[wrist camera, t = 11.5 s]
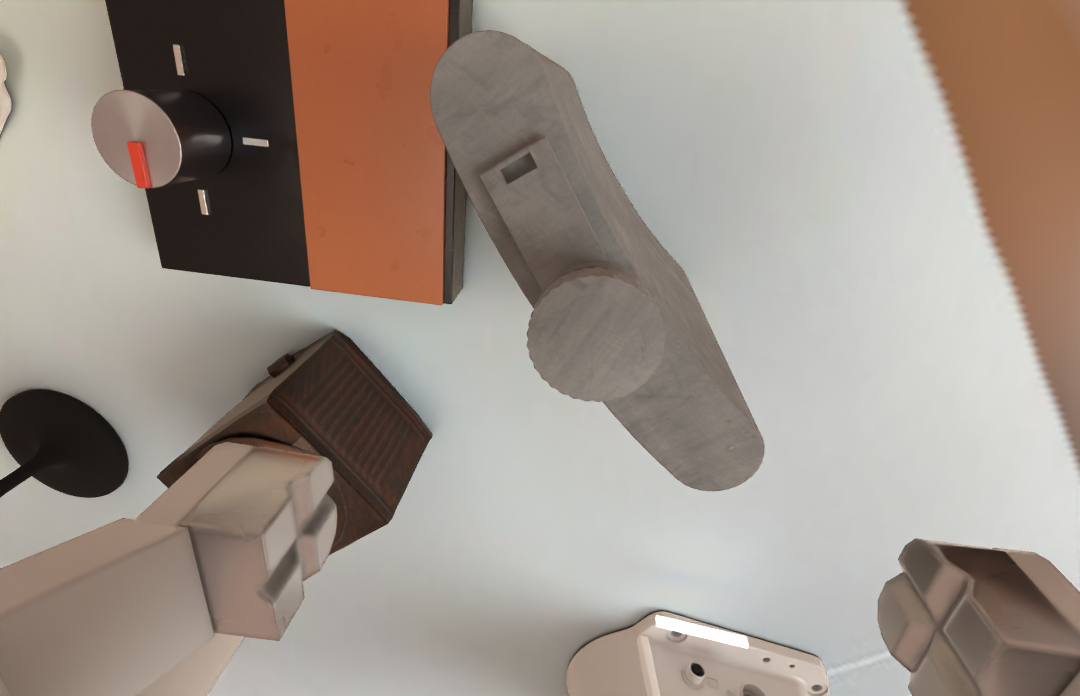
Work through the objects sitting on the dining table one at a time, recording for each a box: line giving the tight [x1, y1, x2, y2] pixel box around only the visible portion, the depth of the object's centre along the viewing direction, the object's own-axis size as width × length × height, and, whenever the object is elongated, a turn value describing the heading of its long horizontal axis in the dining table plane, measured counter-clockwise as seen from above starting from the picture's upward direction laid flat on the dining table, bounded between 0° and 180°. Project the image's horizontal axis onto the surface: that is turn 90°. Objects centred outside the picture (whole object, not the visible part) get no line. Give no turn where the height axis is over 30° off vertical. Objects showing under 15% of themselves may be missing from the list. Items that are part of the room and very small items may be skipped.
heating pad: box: [284, 0, 449, 305], centre depth 29 cm, size 8×16×1 cm, turn 175°
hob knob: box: [91, 90, 231, 188], centre depth 28 cm, size 4×4×4 cm
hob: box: [105, 0, 473, 304], centre depth 31 cm, size 19×16×3 cm
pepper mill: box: [157, 330, 432, 556], centre depth 33 cm, size 16×11×18 cm
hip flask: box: [430, 30, 764, 491], centre depth 23 cm, size 16×4×20 cm, turn 34°
